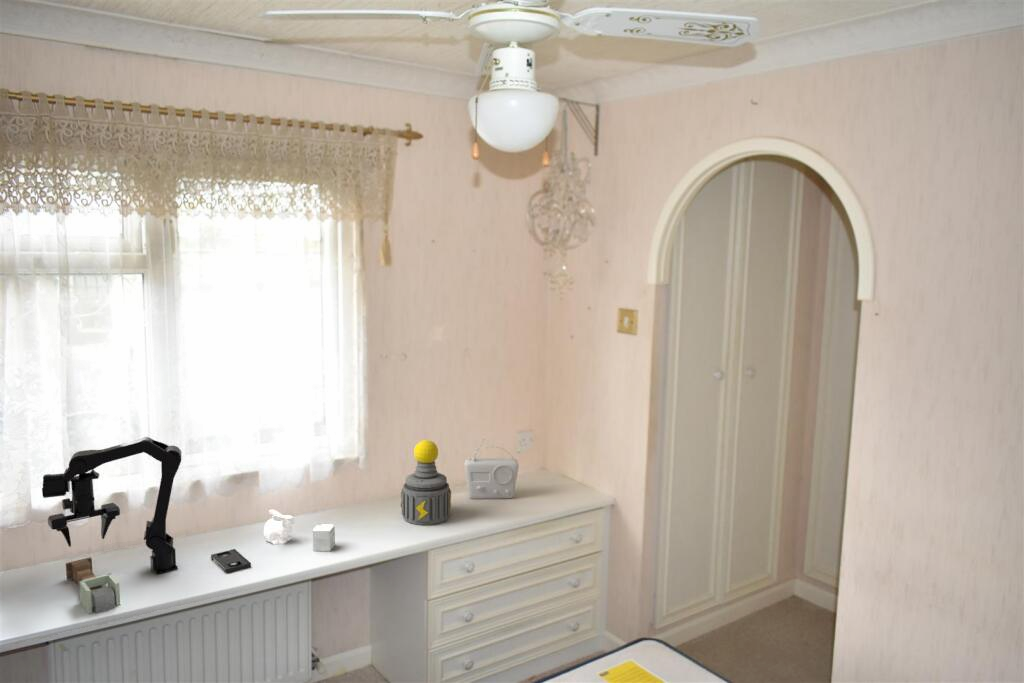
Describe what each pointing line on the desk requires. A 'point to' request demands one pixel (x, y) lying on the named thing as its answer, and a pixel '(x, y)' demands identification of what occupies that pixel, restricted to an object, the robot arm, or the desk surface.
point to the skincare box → (323, 537)
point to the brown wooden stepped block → (80, 571)
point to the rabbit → (278, 528)
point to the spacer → (102, 599)
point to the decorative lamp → (426, 489)
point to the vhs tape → (230, 561)
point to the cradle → (96, 581)
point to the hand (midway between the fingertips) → (86, 542)
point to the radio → (491, 476)
